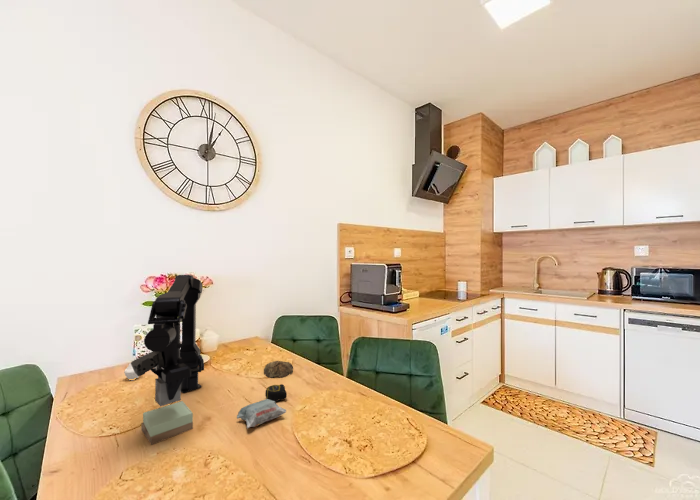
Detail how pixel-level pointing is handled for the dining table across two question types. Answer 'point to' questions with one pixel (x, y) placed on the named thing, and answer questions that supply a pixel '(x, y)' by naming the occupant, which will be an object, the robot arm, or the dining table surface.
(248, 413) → the packaged food
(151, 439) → the bottom block
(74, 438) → the dining table surface
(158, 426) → the top block
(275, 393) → the tape measure
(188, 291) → the robot arm
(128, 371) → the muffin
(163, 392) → the grey block
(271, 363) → the bread roll
